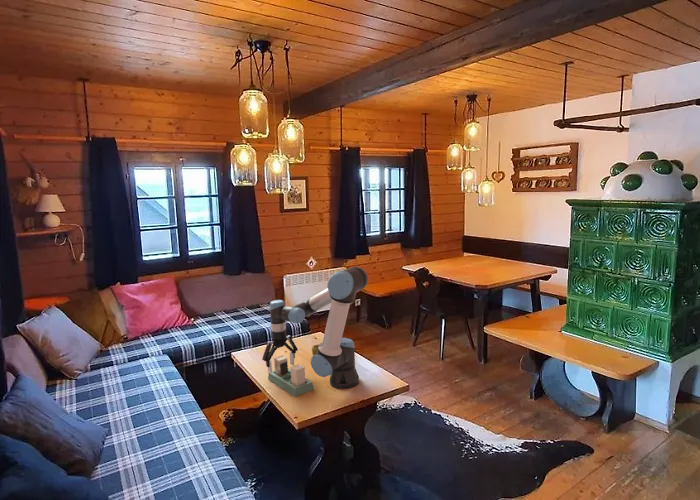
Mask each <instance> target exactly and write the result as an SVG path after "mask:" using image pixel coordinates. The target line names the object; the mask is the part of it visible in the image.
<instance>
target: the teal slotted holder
mask: <svg viewBox="0 0 700 500" xmlns="http://www.w3.org/2000/svg"><path fill="white" fill-rule="evenodd" d="M267 372H268V371H267ZM267 379H268V381H269V382H272V383H273V384H275V385H276V386H277V387H279V388H280V389H282V390H284V391H285V392H287V393H288V394H290V396H293V397H295V398H296V397H298V396H301V395H303V394H306V393H308V392H311V391H313V390H315V389H314V385H313V384H314V383H313V381H311V380H310V379H308V378H306V371H305V366H304V365H301V364H300V363H298V364H294V365H292V366H290V368H288V375H286V376H283V377H279V376H278V375H276V374H275V369H274V370H272V373H269V372H268V376H267Z"/></svg>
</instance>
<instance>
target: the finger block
mask: <svg viewBox="0 0 700 500" xmlns="http://www.w3.org/2000/svg"><path fill="white" fill-rule="evenodd" d="M273 361H274V370H275V374H276V375H278V376H279V377H283V376H286V375H288V369H289V364H288V357H286V356H284V355H279V356H276V357H274V358H273Z"/></svg>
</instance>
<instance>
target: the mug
mask: <svg viewBox="0 0 700 500" xmlns="http://www.w3.org/2000/svg"><path fill="white" fill-rule="evenodd" d="M319 344H320V343H319ZM319 344H314V345H313V346H311V353H312V356H313V355H315V354H316V353H317V350H318V346H319Z"/></svg>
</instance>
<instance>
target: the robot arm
mask: <svg viewBox="0 0 700 500" xmlns="http://www.w3.org/2000/svg"><path fill="white" fill-rule="evenodd" d="M368 283H369V275H368V273H367V271H366V270H365V269H364V268H363V267H359V266H351V267H349V268H346V269H343V270H338V271H337V272H335V273H333V274H332V275H331V276H330V277H329V279H328V280H327V284H326V285H327V286H326V287H327V288H325V289H323V290H322V291H320V292H319V293H317V294H315V295H313V296H312V297H310V298H308V299H307V300H304V301H303V302H300V303H298V304H295V305H292V306H289V305H285V301H284V300H283V299H275V300H272V301H270V303H269V314H270V315H269V316H270V326H271V327H270V328H271V338H272V340H271V341H269V340H268V341H266V347H265V348H264V349H265V350H264V353H263V356H262V358H261V359H262V361H264V362H265V366H266V367H267V372H269V373H272V371H273V367H272V360H271V359H272V357H273V356H274V354H275V352H276V350H277V349H280V348H283V347H285V348H286V349H288V350H289V351H290V352H289V361H290V362H289V364H290V365H292V366H295V358H296V352H298V350H299V349H298V347H297V346H296V344H295V342H294V341H293V337H292V335H289V334H288V335H287V326H286V325H287V324H286V322H289V323H292V324H296V323H297V324H301V323H302V322H303V320H305V318H306V317H308V316H311V315H314V314H316V313H317V312H318V311H319V310H321V309H323V308H325V307H327V306H328V305H330V308H329V312H328V316H327V320H326V324H325V325H326V326H325V330H324V335H323V338H322V342H320V343H319V346H318V350H317V353H316V354H315V355H313V354H312V357H311V359H310V366H311V369H313V372H314V373H315V374H316V375H317V376H319V377H322V378H326V377H329V385H330V386H331V387H332V388H336V389H341V390H343V389H345V390H347V389H351V388H354V387H356V386H358V385H359V384H360V377H359V375H358V372H357V368H356V358H355V357H356V356H355V354H356V352H355V348H356V346H355V342H354V340H353V339H351V338H348V337H343V335H344V330H345V326H346V322H347V319H348V318H347V317H348V314H349V310H350V305H352V304H353V303H354V302H355V300H356V295H357V293H359V292H361V291H363V290H364V289H365V288H366V287H367V285H368ZM287 341H288V343H289V344H290V345H289V344H288V343H287ZM269 373H268V374H269Z"/></svg>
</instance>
